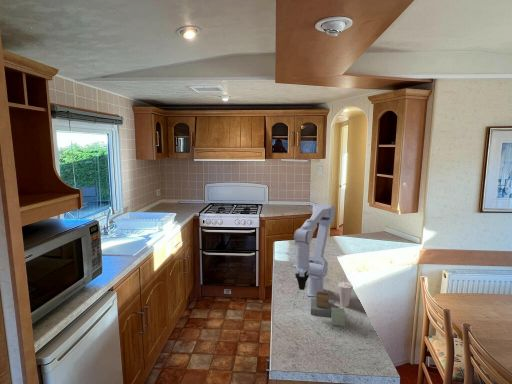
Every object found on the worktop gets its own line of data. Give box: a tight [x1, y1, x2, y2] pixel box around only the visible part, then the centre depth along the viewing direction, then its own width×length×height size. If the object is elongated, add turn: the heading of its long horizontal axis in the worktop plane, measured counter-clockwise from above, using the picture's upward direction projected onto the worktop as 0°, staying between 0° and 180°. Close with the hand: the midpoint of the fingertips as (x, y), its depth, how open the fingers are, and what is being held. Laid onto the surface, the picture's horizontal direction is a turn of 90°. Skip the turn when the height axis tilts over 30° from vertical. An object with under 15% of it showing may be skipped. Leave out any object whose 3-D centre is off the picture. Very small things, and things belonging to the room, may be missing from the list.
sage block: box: [330, 306, 346, 327], centre depth 128 cm, size 5×5×5 cm
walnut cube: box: [316, 290, 330, 308], centre depth 138 cm, size 5×5×5 cm
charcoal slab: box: [310, 297, 335, 317], centre depth 138 cm, size 10×10×3 cm
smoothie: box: [337, 274, 354, 308], centre depth 142 cm, size 6×6×14 cm
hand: (302, 285), depth 139 cm, fingers open, 7 cm apart
